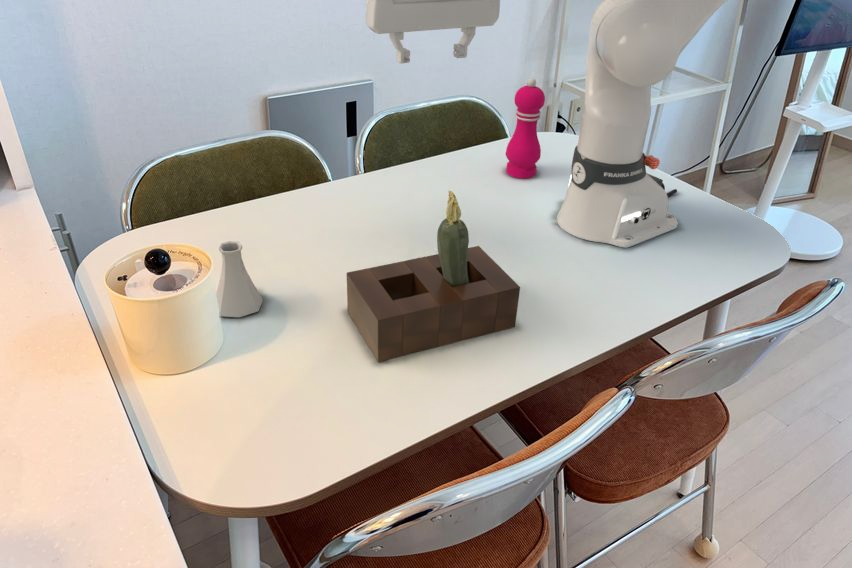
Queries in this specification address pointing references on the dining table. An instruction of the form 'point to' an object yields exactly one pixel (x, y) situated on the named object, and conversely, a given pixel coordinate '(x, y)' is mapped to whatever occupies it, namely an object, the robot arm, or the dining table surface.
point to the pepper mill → (525, 132)
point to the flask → (236, 284)
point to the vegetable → (453, 245)
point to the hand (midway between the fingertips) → (431, 59)
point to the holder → (429, 304)
